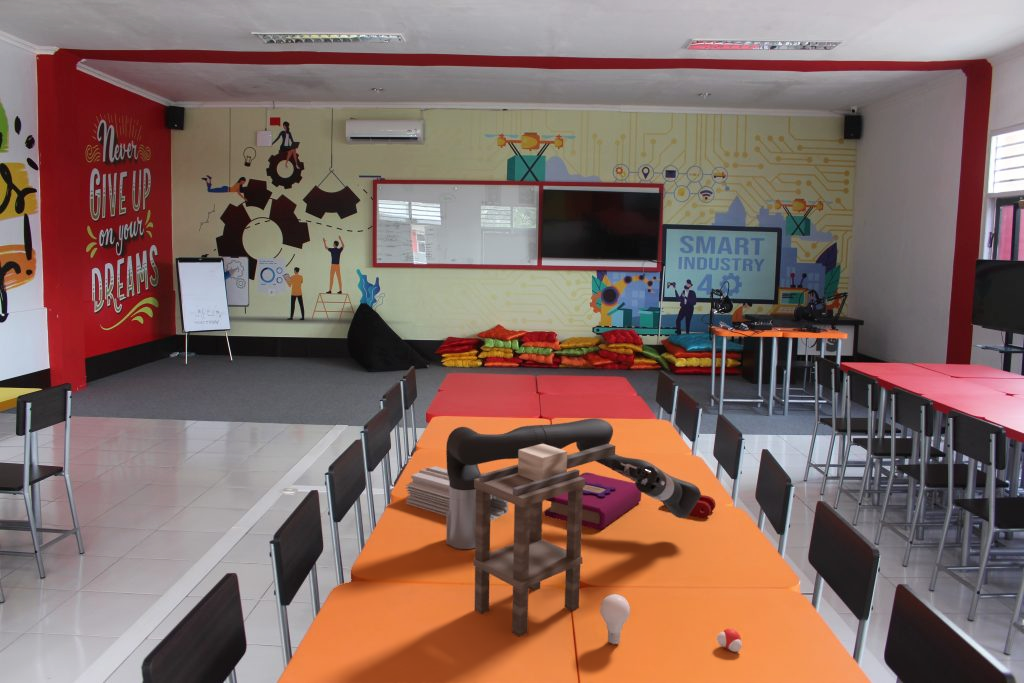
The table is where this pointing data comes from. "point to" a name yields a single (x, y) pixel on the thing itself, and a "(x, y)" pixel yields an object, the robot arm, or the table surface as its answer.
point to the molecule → (730, 640)
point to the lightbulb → (615, 615)
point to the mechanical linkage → (702, 507)
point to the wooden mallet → (556, 460)
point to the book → (598, 501)
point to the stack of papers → (441, 493)
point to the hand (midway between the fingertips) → (623, 466)
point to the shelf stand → (527, 539)
